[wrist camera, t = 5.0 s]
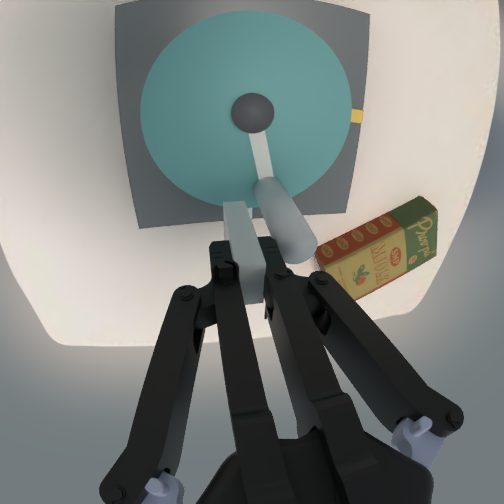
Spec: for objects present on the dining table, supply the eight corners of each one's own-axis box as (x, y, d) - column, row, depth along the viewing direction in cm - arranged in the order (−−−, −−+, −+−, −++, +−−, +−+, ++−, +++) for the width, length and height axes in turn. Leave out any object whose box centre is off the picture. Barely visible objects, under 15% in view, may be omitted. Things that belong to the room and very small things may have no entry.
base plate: (122, 10, 13) (114, 4, 12) (358, 16, 16) (371, 13, 15) (142, 217, 26) (138, 230, 24) (337, 203, 29) (346, 214, 27)
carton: (310, 246, 32) (323, 270, 29) (420, 192, 30) (440, 209, 27) (327, 288, 37) (338, 311, 34) (422, 239, 35) (438, 257, 32)
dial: (120, 48, 14) (64, 40, 7) (327, 6, 14) (401, -13, 7) (180, 220, 24) (176, 299, 17) (349, 177, 24) (407, 234, 17)
